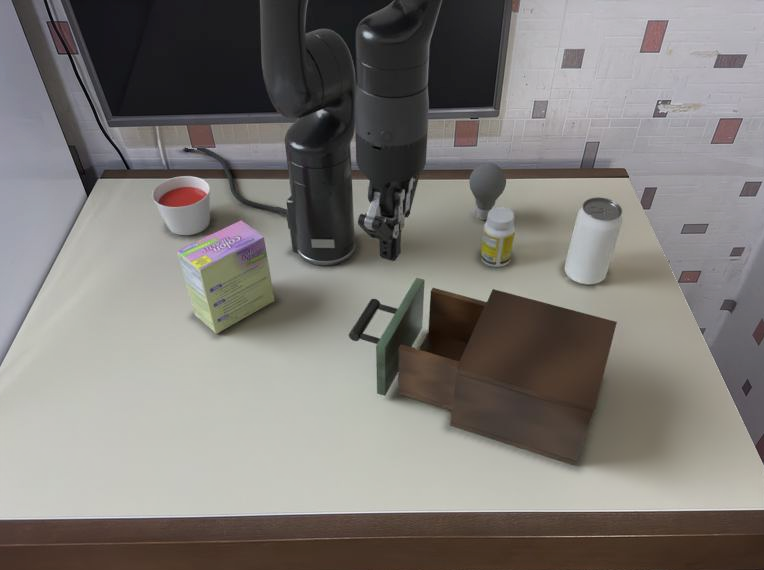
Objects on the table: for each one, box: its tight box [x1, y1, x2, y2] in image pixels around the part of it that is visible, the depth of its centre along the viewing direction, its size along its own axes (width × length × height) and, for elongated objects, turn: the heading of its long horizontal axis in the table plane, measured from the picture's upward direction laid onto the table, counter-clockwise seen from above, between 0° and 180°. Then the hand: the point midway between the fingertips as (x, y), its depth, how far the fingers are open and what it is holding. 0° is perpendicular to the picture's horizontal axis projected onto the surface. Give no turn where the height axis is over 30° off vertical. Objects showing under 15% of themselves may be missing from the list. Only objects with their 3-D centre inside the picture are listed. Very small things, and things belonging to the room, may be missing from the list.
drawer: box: [348, 277, 487, 411], centre depth 87 cm, size 20×14×9 cm
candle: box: [151, 175, 211, 236], centre depth 110 cm, size 9×9×6 cm
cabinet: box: [449, 288, 618, 467], centre depth 83 cm, size 16×15×11 cm
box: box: [176, 220, 276, 335], centre depth 94 cm, size 10×6×12 cm, turn 135°
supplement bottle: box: [480, 206, 516, 268], centre depth 105 cm, size 5×5×8 cm
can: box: [564, 196, 623, 286], centre depth 101 cm, size 6×6×12 cm
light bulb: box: [468, 162, 507, 221], centre depth 112 cm, size 6×6×10 cm
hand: (389, 256), depth 82 cm, fingers closed
